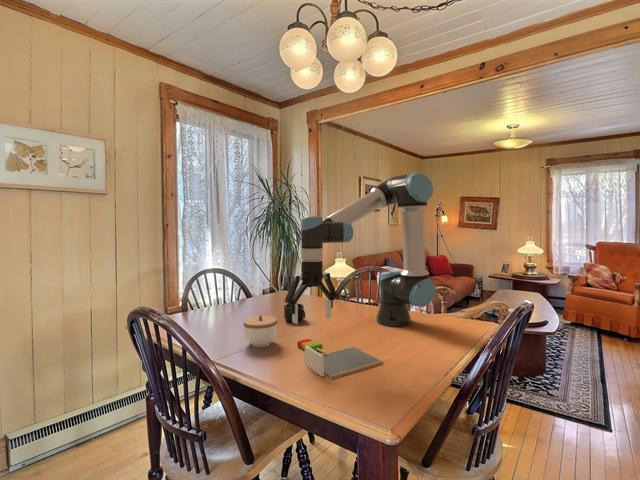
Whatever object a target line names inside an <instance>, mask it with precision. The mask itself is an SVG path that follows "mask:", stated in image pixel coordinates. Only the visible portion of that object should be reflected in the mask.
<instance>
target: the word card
mask: <svg viewBox="0 0 640 480" xmlns="http://www.w3.org/2000/svg"><path fill="white" fill-rule="evenodd" d="M322 354H323V353H321V352H319V351H318V350H316V351H315V350H313V349H312V348H310V347H308V346H305V350H304V359H305V361H304V365H305V366H306V367H308V368H309V369H310V370H311V371H313V372H315V374H317V375H319V376H320V377H323V376H325V374H324V356H323V355H322Z"/></svg>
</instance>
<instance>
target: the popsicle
mask: <svg viewBox="0 0 640 480" xmlns="http://www.w3.org/2000/svg"><path fill="white" fill-rule="evenodd" d="M296 343H297V347H298V348H300V349H303V350H304V351H305V346H308V347H310V348H312V349H313V350H315V351H317V352H320V353H322V354H325V353H327V351H326V350H324V349H323V348H324V347H323V344H322V343H320V342H317V341H315V340H313V339H310V338H305V339H301V340H298V341H296Z"/></svg>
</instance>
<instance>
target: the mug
mask: <svg viewBox="0 0 640 480" xmlns="http://www.w3.org/2000/svg"><path fill="white" fill-rule="evenodd" d="M296 304H297V305H298V323H299V322H301V321H303V320H304V319H305V318H306V312H305V309H304V304H302V303H296ZM283 312H284V313H283V314H284V315H283V316H284V317H283V318H284V320H285V321H287V322H288V323H293V322H292V314H291V313H290V304H288V303H286V304H284V306H283Z"/></svg>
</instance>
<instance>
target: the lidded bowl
mask: <svg viewBox="0 0 640 480" xmlns="http://www.w3.org/2000/svg"><path fill="white" fill-rule="evenodd" d="M243 331H244V336H245V340H246V341H247V342H248V343H249V344H250V345H251V346H252V347H255V348H265V347H268V346H270V345H271V343H272V342H273V341H274V340H275V338H276V335H277V332H278V318H277V317H275V316H271V315H262V314H259V315H256V316H255V315H254V316H250V317H247V318H245V319H244V320H243Z"/></svg>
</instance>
